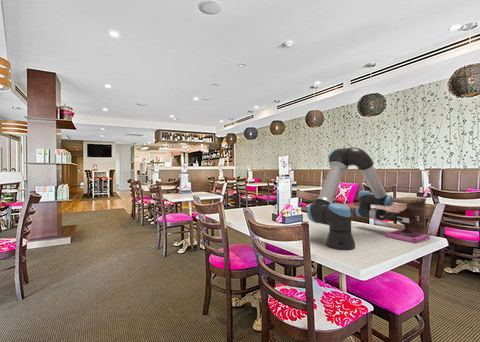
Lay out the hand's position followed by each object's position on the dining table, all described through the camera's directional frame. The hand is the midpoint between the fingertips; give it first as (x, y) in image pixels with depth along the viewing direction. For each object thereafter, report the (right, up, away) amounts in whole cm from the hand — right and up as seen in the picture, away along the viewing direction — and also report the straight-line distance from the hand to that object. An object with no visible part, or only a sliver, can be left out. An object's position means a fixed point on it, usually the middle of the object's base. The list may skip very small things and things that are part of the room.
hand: (413, 219), depth 147 cm
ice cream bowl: (-2, -9, +4) cm, 10 cm away
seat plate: (-2, -12, +3) cm, 13 cm away
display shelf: (0, -12, +4) cm, 13 cm away
